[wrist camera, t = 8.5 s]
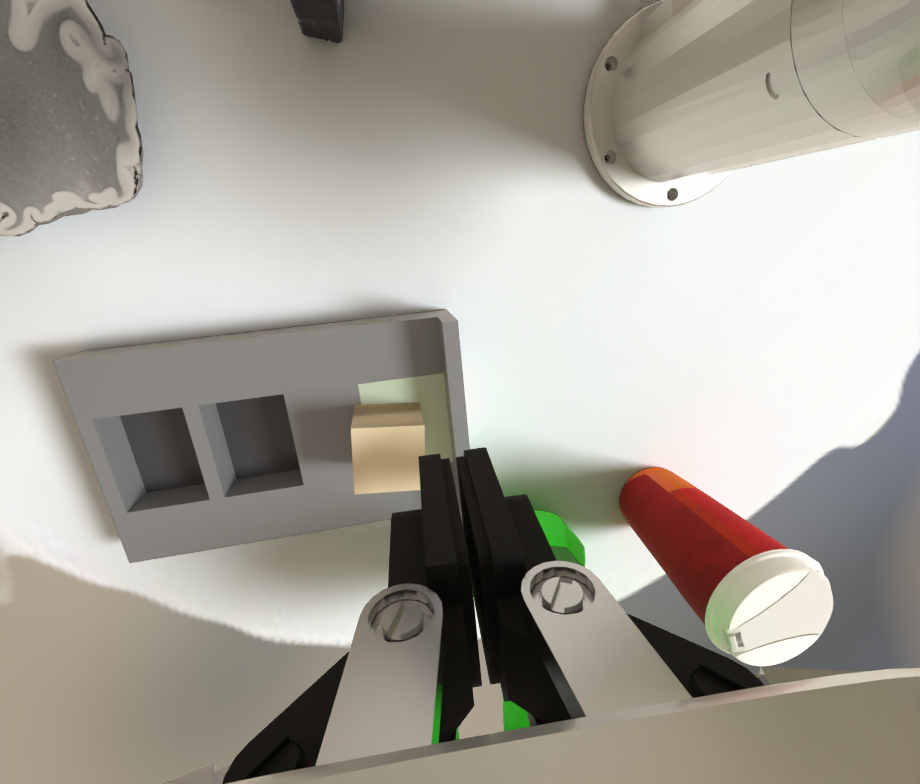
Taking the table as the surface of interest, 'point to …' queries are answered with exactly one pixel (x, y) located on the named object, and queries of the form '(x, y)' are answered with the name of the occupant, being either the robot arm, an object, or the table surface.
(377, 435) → the birch block
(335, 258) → the table surface
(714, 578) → the coffee cup
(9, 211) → the brain slice
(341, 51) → the table surface
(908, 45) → the robot arm
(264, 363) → the box
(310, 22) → the vhs cassette tape
